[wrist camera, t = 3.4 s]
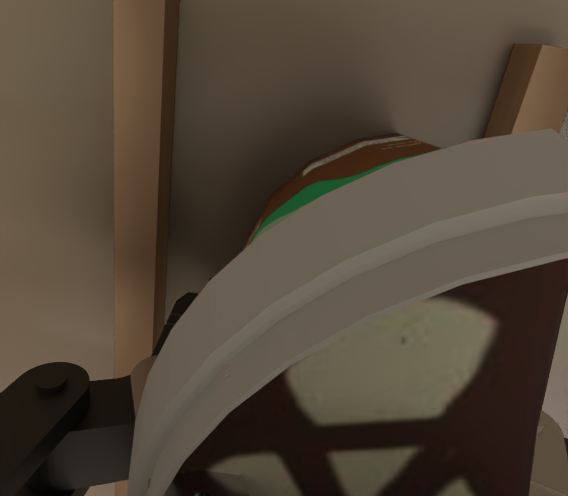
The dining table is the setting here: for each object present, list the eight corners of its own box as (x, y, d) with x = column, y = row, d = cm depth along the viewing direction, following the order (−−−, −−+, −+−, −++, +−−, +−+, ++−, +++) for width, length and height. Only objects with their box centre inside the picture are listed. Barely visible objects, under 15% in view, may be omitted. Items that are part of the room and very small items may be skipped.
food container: (181, 93, 13) (-79, 217, 4) (400, 79, 13) (692, 173, 4) (229, 421, 18) (169, 813, 9) (386, 414, 18) (491, 809, 9)
